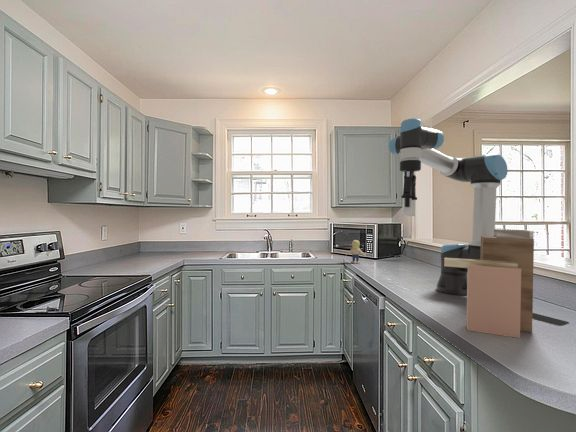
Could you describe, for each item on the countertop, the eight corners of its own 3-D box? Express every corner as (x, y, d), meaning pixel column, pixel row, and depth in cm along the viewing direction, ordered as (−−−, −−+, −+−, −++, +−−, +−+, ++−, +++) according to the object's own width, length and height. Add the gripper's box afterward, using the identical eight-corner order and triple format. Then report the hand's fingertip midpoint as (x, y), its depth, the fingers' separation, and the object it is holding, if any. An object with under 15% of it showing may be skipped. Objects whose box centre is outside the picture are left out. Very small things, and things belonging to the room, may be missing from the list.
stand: (479, 317, 118) (480, 228, 117) (526, 323, 111) (527, 230, 111) (481, 324, 110) (483, 229, 109) (532, 332, 103) (534, 231, 103)
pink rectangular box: (466, 323, 111) (467, 262, 110) (515, 330, 104) (516, 265, 104) (467, 330, 104) (468, 265, 104) (519, 338, 98) (521, 268, 98)
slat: (444, 264, 112) (444, 257, 112) (515, 269, 103) (515, 262, 103) (444, 266, 109) (444, 258, 109) (517, 271, 99) (517, 263, 99)
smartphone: (559, 325, 109) (512, 312, 123) (559, 327, 109) (512, 314, 123) (570, 322, 112) (523, 310, 126) (570, 324, 112) (523, 311, 126)
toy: (365, 262, 245) (365, 239, 245) (365, 263, 239) (366, 240, 238) (345, 261, 248) (345, 239, 248) (345, 263, 241) (345, 240, 241)
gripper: (404, 165, 135) (403, 215, 135) (395, 156, 113) (394, 216, 113) (423, 164, 132) (422, 216, 132) (418, 154, 110) (417, 216, 110)
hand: (409, 216), depth 123 cm, fingers open, 13 cm apart
